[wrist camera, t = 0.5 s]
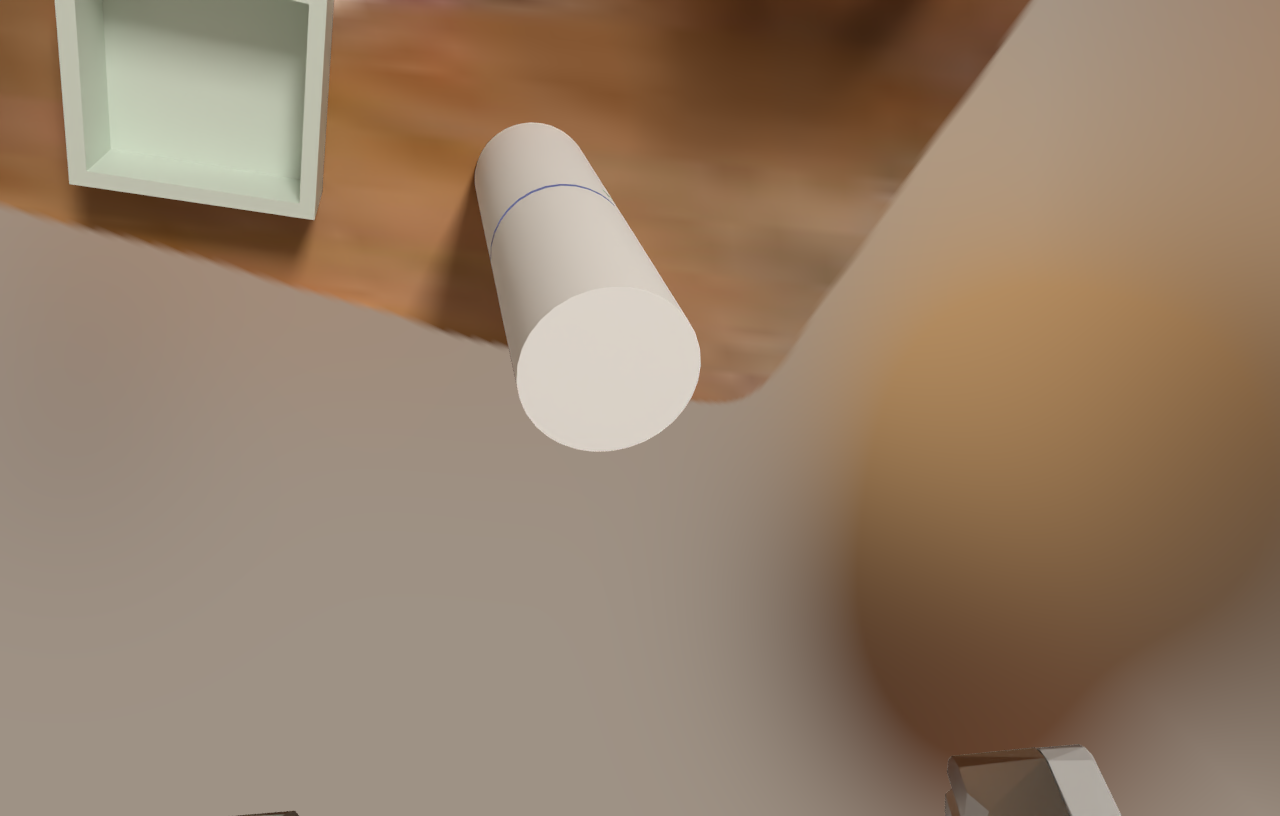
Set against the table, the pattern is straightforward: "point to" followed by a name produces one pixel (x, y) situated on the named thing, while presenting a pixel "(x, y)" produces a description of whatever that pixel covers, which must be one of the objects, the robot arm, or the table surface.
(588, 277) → the cylindrical container
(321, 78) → the box
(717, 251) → the table surface
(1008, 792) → the robot arm
